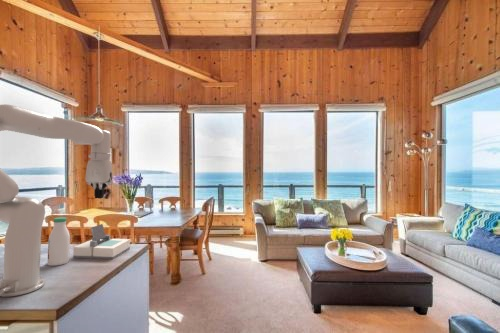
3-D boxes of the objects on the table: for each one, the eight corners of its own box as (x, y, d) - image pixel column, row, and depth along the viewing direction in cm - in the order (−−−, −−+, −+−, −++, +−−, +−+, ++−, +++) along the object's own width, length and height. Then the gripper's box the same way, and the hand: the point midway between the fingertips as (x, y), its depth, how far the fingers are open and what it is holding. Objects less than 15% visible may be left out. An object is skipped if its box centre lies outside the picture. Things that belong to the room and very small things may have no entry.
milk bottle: (73, 260, 116) (75, 216, 116) (59, 266, 108) (60, 219, 109) (57, 259, 117) (59, 216, 117) (42, 265, 109) (44, 219, 110)
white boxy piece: (112, 259, 119) (113, 242, 119) (73, 257, 120) (73, 241, 120) (129, 248, 135) (130, 234, 135) (94, 247, 136) (95, 233, 136)
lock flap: (93, 245, 123) (97, 244, 123) (89, 228, 123) (92, 227, 123) (105, 240, 132) (107, 239, 132) (100, 224, 132) (103, 223, 132)
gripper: (78, 156, 111) (76, 198, 111) (112, 157, 111) (110, 199, 111) (89, 157, 119) (88, 196, 119) (121, 158, 119) (120, 197, 118)
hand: (99, 197), depth 115 cm, fingers closed
